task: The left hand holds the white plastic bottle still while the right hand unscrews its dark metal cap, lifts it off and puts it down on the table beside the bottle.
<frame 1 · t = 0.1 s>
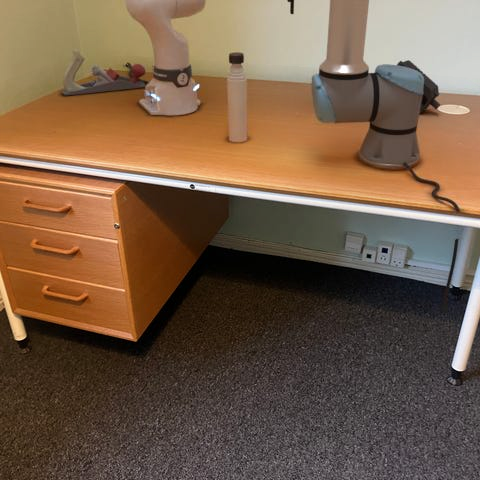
right hand: (313, 13, 165), 28 cm above the table, tool pointing down, fingers open, 13 cm apart
tool: (406, 109, 173), on the table
cap: (236, 55, 141), point 23 cm above the table, screwed on, not yet turned
hand plane: (105, 89, 198), on the table
bottle: (238, 138, 153), on the table
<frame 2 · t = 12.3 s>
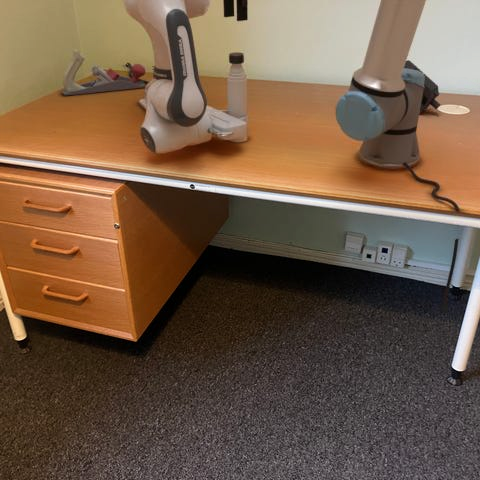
left hand: (240, 115, 150), 7 cm above the table, tool horizontal, fingers closed on bottle, 5 cm apart
right hand: (235, 18, 136), 33 cm above the table, tool pointing down, fingers open, 6 cm apart
bottle: (238, 138, 153), on the table, touching left hand
everything else where it was.
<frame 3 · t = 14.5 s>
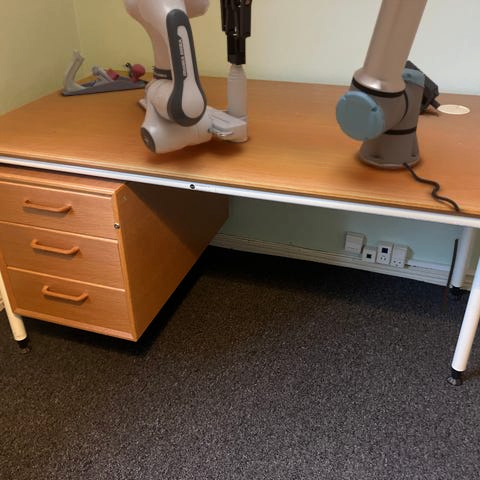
left hand: (240, 115, 150), 7 cm above the table, tool horizontal, fingers closed on bottle, 5 cm apart
right hand: (236, 62, 142), 21 cm above the table, tool pointing down, fingers closed on cap, 4 cm apart
cap: (236, 55, 141), point 23 cm above the table, screwed on, not yet turned, touching right hand
bottle: (238, 138, 153), on the table, touching left hand
everything else where it was.
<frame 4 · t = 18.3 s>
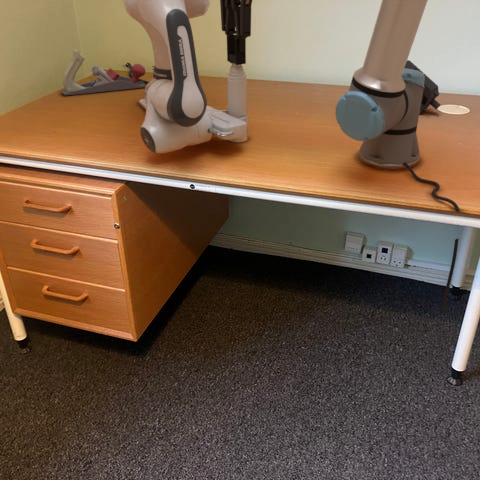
left hand: (240, 115, 150), 7 cm above the table, tool horizontal, fingers closed on bottle, 5 cm apart
right hand: (236, 62, 142), 22 cm above the table, tool pointing down, fingers closed on cap, 4 cm apart
cap: (236, 54, 141), point 23 cm above the table, turned 110° so far, risen 0.1 cm, still on its thread, touching right hand
bottle: (238, 139, 153), on the table, touching left hand
everything else where it was.
when the right hand's fingers open (1 cm above the table, at t = 31.5 s): cap drops 1 cm, point 2 cm above the table.
when the left hand's fingers open (7 cm above the table, at t = 32.8 s): bottle stays where it is, on the table.
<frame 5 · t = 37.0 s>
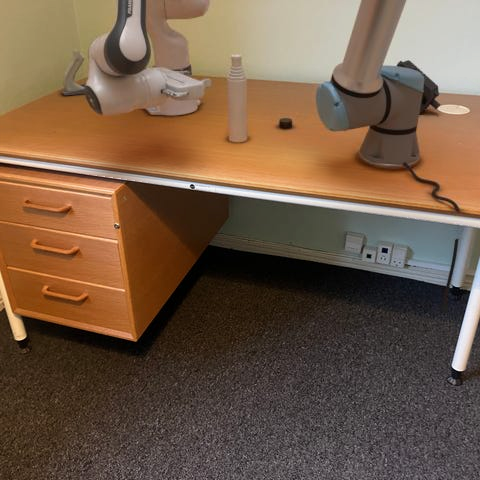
left hand: (199, 78, 137), 19 cm above the table, tool horizontal, fingers open, 8 cm apart
cap: (285, 120, 160), point 2 cm above the table, off its thread
bottle: (238, 139, 153), on the table
everything else where it was.
at the end: cap came off its thread; cap point 1.8 cm above the table; the left hand is holding nothing; the right hand is holding nothing; bottle tilted 0°; bottle moved 0.0 cm from its start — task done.
